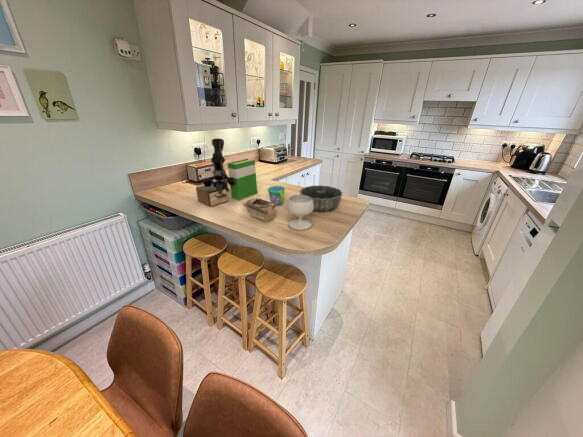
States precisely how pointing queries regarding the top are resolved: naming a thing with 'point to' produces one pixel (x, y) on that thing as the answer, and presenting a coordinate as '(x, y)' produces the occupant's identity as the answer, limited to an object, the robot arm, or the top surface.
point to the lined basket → (261, 209)
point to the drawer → (217, 197)
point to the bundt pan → (323, 197)
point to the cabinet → (205, 193)
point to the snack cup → (276, 194)
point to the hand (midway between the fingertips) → (220, 193)
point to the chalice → (300, 210)
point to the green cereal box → (243, 178)
